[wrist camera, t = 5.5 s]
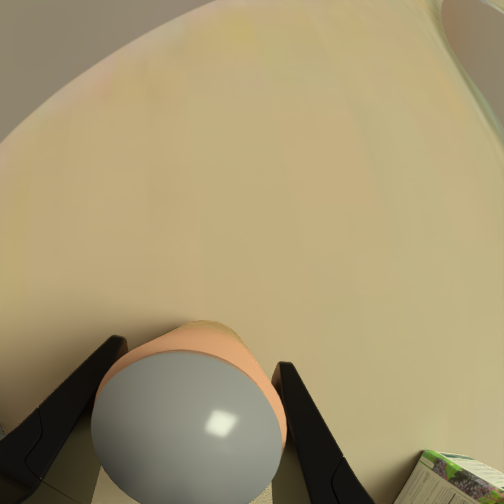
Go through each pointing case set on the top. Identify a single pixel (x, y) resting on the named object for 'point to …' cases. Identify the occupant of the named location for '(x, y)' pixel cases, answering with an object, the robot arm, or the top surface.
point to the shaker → (189, 420)
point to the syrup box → (452, 481)
